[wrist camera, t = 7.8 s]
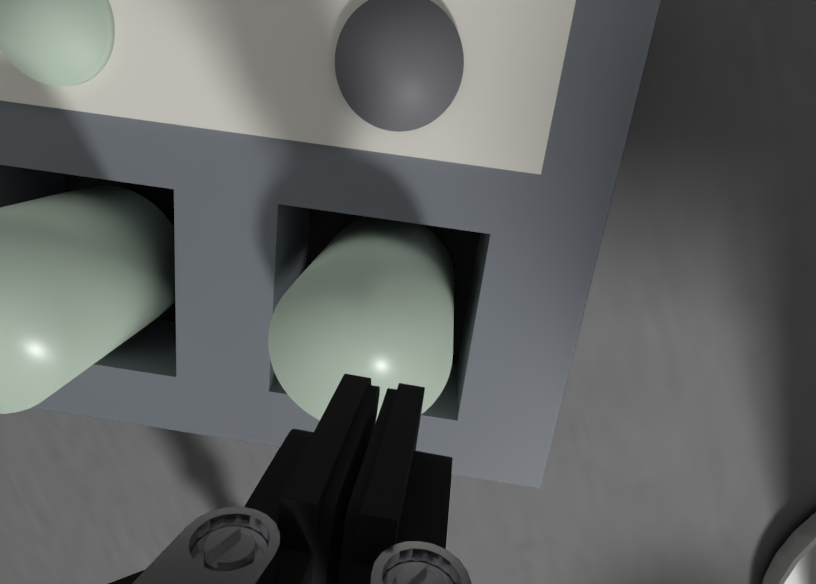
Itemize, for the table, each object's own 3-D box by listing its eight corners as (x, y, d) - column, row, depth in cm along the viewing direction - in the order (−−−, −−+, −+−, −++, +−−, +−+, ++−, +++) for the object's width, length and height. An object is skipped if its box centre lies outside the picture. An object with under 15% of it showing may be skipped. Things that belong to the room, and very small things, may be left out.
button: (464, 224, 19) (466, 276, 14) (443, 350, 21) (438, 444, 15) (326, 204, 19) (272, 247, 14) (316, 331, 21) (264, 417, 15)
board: (623, -9, 17) (678, -45, 13) (526, 421, 22) (542, 499, 18) (-317, -125, 18) (-556, -194, 14) (-205, 308, 23) (-355, 356, 19)
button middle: (185, 196, 18) (60, 240, 12) (186, 332, 20) (76, 427, 14) (40, 175, 18) (-147, 210, 13) (53, 312, 20) (-109, 397, 14)
